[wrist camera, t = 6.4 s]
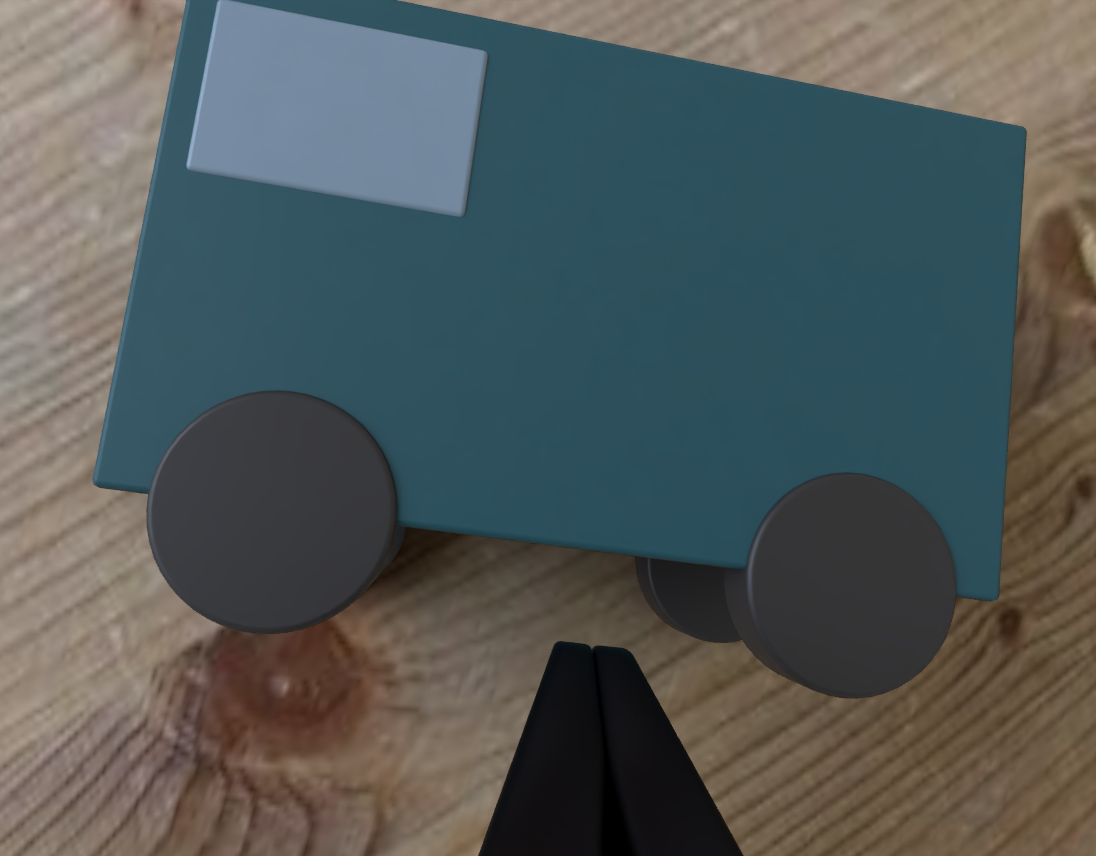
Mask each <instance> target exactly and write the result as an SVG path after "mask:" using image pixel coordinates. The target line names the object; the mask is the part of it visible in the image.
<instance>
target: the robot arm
mask: <svg viewBox="0 0 1096 856" xmlns="http://www.w3.org/2000/svg"><path fill="white" fill-rule="evenodd" d="M478 856H743V854H742V852H741V850H740V848H739V847H738V845H737V843H736V841H735V839H734V838H733V836H732V834H731V832H730V830H729V828H728V827H727V825H726V823H725V821H724V819H723V818H722V816H721V814H720V812H719V810H718V809H717V807H716V805H715V803H714V801H713V799H712V798H711V796H710V794H709V792H708V790H707V789H706V787H705V785H704V783H703V781H702V779H701V778H700V776H699V774H698V772H697V770H696V769H695V767H694V765H693V763H692V761H691V760H690V758H689V756H688V754H687V752H686V750H685V749H684V747H683V745H682V743H681V741H680V740H679V738H678V736H677V734H676V732H675V731H674V729H673V727H672V725H671V723H670V721H669V720H668V718H667V716H666V714H665V712H664V711H663V709H662V707H661V705H660V703H659V701H658V700H657V698H656V696H655V694H654V692H653V691H652V689H651V687H650V685H649V683H648V682H647V680H646V678H645V676H644V674H643V672H642V671H641V669H640V667H639V665H638V663H637V662H636V660H635V658H634V656H633V655H632V653H631V652H629V651H628V650H627V649H624V648H617V647H608V646H595V647H593V648H592V649H591V647H590V646H589V645H587V644H582V643H573V642H564V641H558V642H556V643H555V645H554V647H553V649H552V652H551V655H550V658H549V660H548V663H547V666H546V669H545V672H544V674H543V677H542V680H541V683H540V685H539V688H538V691H537V694H536V697H535V699H534V702H533V705H532V708H531V710H530V713H529V716H528V719H527V722H526V724H525V727H524V730H523V733H522V736H521V738H520V741H519V744H518V747H517V749H516V752H515V755H514V758H513V761H512V763H511V766H510V769H509V772H508V774H507V777H506V780H505V783H504V786H503V788H502V791H501V794H500V797H499V799H498V802H497V805H496V808H495V811H494V813H493V816H492V819H491V822H490V825H489V827H488V830H487V833H486V836H485V838H484V841H483V844H482V847H481V850H480V852H479V855H478Z"/></svg>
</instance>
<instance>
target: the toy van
mask: <svg viewBox="0 0 1096 856" xmlns="http://www.w3.org/2000/svg"><path fill="white" fill-rule="evenodd" d="M1026 134H1027V132H1026V129H1025V128H1024V127H1022V126H1017V125H1012V124H1007V123H1002V122H997V121H992V120H987V119H982V118H977V117H972V116H967V115H962V114H957V113H952V112H947V111H942V110H937V109H932V108H927V107H923V106H918V105H913V104H908V103H903V102H898V101H893V100H888V99H883V98H878V97H873V96H868V95H863V94H858V93H853V92H848V91H843V90H838V89H833V88H828V87H824V86H819V85H814V84H809V83H804V82H799V81H794V80H789V79H784V78H779V77H774V76H769V75H764V74H759V73H754V72H749V71H744V70H739V69H734V68H729V67H724V66H720V65H715V64H710V63H705V62H700V61H695V60H690V59H685V58H680V57H675V56H670V55H665V54H660V53H655V52H650V51H645V50H640V49H635V48H630V47H625V46H620V45H616V44H611V43H606V42H601V41H596V40H591V39H586V38H581V37H576V36H571V35H566V34H561V33H556V32H551V31H546V30H541V29H536V28H531V27H526V26H521V25H517V24H512V23H507V22H502V21H497V20H492V19H487V18H482V17H477V16H472V15H467V14H462V13H457V12H452V11H447V10H442V9H437V8H432V7H427V6H422V5H417V4H413V3H408V2H403V1H398V0H186V5H185V11H184V16H183V21H182V26H181V31H180V36H179V41H178V46H177V51H176V57H175V62H174V67H173V72H172V77H171V82H170V87H169V92H168V97H167V103H166V108H165V113H164V118H163V123H162V128H161V133H160V138H159V143H158V149H157V154H156V159H155V164H154V169H153V174H152V179H151V184H150V189H149V195H148V200H147V205H146V210H145V215H144V220H143V225H142V230H141V235H140V241H139V246H138V251H137V256H136V261H135V266H134V271H133V276H132V281H131V286H130V292H129V297H128V302H127V307H126V312H125V317H124V322H123V327H122V332H121V338H120V343H119V348H118V353H117V358H116V363H115V368H114V373H113V378H112V384H111V389H110V394H109V399H108V404H107V409H106V414H105V419H104V424H103V430H102V435H101V440H100V445H99V450H98V455H97V460H96V465H95V470H94V476H93V483H94V485H95V486H97V487H99V488H105V489H113V490H121V491H128V492H136V493H144V494H148V502H147V510H146V511H147V531H148V537H149V543H150V546H151V549H152V553H153V556H154V559H155V561H156V563H157V565H158V567H159V570H160V572H161V573H162V575H163V577H164V578H165V580H166V581H167V583H168V584H169V586H170V587H171V588H172V589H173V590H174V592H175V593H176V594H177V595H178V596H179V597H180V598H181V599H182V600H183V601H184V602H185V603H186V604H187V605H189V606H190V607H191V608H192V609H193V610H195V611H196V612H198V613H199V614H201V615H202V616H204V617H206V618H207V619H209V620H211V621H214V622H216V623H218V624H220V625H222V626H225V627H228V628H232V629H235V630H238V631H244V632H250V633H259V634H276V633H288V632H292V631H297V630H301V629H305V628H308V627H311V626H314V625H316V624H319V623H321V622H323V621H325V620H327V619H329V618H331V617H333V616H335V615H336V614H338V613H339V612H341V611H342V610H344V609H345V608H347V607H348V606H349V605H350V604H352V603H353V602H354V601H355V600H356V599H357V598H359V597H360V596H361V595H362V594H363V593H364V591H365V590H366V589H367V588H368V587H369V586H370V585H371V584H372V583H373V581H374V580H375V579H376V578H377V576H379V575H380V574H381V573H382V572H383V571H384V570H385V569H386V568H387V567H388V566H389V565H390V563H391V562H392V561H393V560H394V558H395V557H396V555H397V554H398V552H399V550H400V548H401V547H402V545H403V542H404V539H405V537H406V534H407V529H408V527H411V528H419V529H426V530H434V531H442V532H450V533H458V534H466V535H473V536H481V537H489V538H497V539H505V540H513V541H520V542H528V543H536V544H544V545H552V546H560V547H568V548H575V549H583V550H591V551H599V552H607V553H615V554H622V555H630V556H636V570H637V577H638V581H639V585H640V588H641V591H642V593H643V595H644V597H645V599H646V601H647V602H648V604H649V605H650V607H651V608H652V610H653V611H654V612H655V613H656V614H657V615H658V616H659V617H660V618H661V619H662V620H663V621H664V622H666V623H667V624H669V625H670V626H671V627H673V628H675V629H677V630H679V631H681V632H683V633H685V634H688V635H690V636H692V637H694V638H697V639H700V640H703V641H708V642H714V643H728V642H735V641H740V640H743V642H744V643H745V645H746V646H747V647H748V648H749V650H750V651H751V652H752V653H753V654H754V655H755V657H756V658H758V659H759V660H760V661H761V662H762V663H763V664H764V665H765V666H767V667H768V668H770V669H771V670H773V671H774V672H776V673H777V674H779V675H781V676H783V677H785V678H787V679H789V680H791V681H794V682H796V683H798V684H800V685H803V686H805V687H807V688H809V689H812V690H814V691H817V692H820V693H823V694H826V695H829V696H834V697H840V698H855V699H857V698H866V697H872V696H876V695H880V694H884V693H886V692H889V691H891V690H894V689H896V688H898V687H900V686H902V685H903V684H905V683H907V682H908V681H910V680H911V679H913V678H914V677H915V676H916V675H918V674H919V673H920V672H921V671H922V670H923V669H924V668H925V667H926V666H927V665H928V664H929V663H930V662H931V661H932V659H933V658H934V656H935V655H936V654H937V652H938V651H939V649H940V647H941V646H942V644H943V642H944V640H945V638H946V636H947V633H948V631H949V628H950V625H951V622H952V618H953V614H954V608H955V601H956V597H960V598H967V599H975V600H983V601H994V600H997V599H998V597H999V586H1000V569H1001V553H1002V536H1003V519H1004V502H1005V486H1006V469H1007V452H1008V435H1009V419H1010V402H1011V385H1012V368H1013V352H1014V335H1015V318H1016V301H1017V285H1018V268H1019V251H1020V234H1021V218H1022V201H1023V184H1024V167H1025V151H1026Z"/></svg>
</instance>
